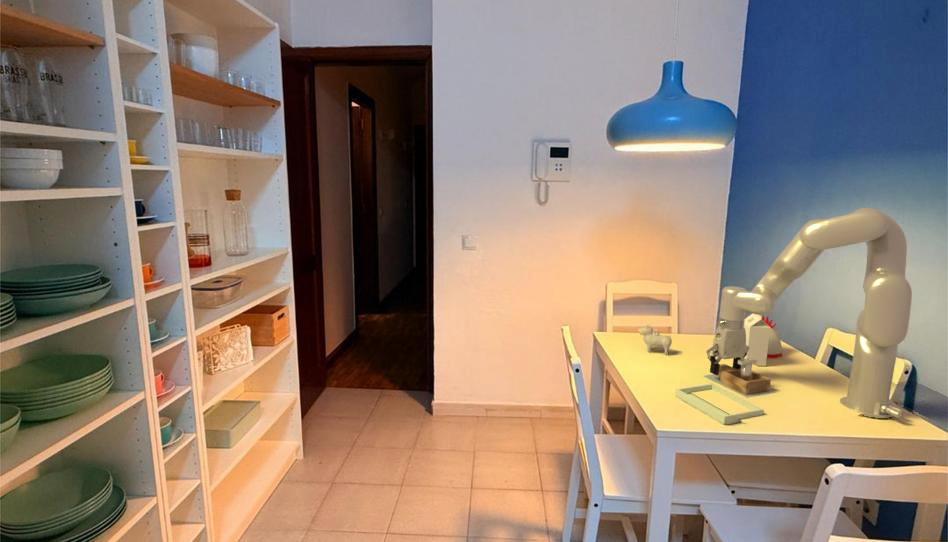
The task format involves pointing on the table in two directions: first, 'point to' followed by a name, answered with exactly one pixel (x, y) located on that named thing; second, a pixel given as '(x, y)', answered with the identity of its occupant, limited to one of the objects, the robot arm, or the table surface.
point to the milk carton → (757, 339)
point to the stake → (746, 368)
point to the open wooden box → (743, 381)
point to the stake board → (717, 380)
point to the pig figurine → (655, 338)
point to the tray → (713, 410)
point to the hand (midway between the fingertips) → (725, 372)
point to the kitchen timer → (773, 341)
